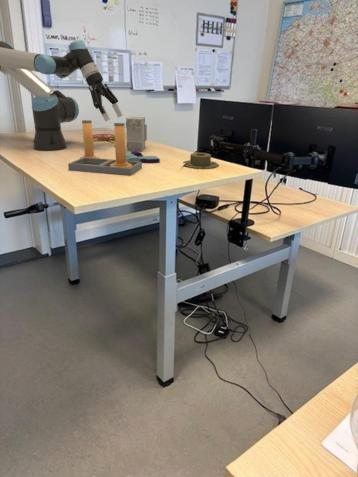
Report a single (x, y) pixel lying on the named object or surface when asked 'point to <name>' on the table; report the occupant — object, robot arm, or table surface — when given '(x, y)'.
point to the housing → (103, 166)
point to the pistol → (141, 157)
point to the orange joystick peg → (88, 139)
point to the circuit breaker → (136, 133)
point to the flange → (200, 161)
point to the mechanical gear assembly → (104, 137)
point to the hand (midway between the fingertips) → (114, 118)
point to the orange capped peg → (120, 147)
